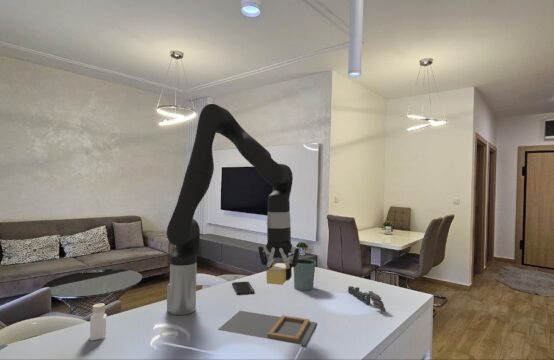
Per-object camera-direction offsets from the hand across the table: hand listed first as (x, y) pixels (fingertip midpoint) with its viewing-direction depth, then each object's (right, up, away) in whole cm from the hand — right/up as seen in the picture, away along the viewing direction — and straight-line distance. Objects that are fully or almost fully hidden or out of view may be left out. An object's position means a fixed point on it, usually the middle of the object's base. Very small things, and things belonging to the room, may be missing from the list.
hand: (279, 278), depth 102 cm
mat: (-3, -16, +1) cm, 16 cm away
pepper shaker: (-54, -15, -7) cm, 56 cm away
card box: (0, 0, 0) cm, 0 cm away
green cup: (+11, -17, +41) cm, 46 cm away
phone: (-16, -17, +39) cm, 45 cm away
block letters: (+34, -17, +24) cm, 45 cm away
